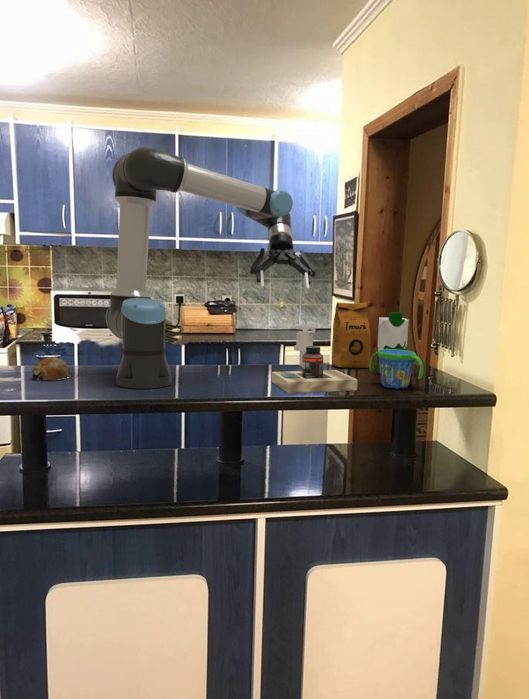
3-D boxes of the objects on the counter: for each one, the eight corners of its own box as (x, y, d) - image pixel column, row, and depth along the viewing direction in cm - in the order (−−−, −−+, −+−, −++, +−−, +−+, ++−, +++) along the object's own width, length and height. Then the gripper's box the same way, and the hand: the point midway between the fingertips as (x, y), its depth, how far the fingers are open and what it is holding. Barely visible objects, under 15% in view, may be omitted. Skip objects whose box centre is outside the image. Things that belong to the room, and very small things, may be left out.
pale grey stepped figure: (314, 367, 191) (316, 323, 189) (293, 367, 192) (295, 322, 189) (313, 364, 198) (314, 321, 196) (293, 363, 198) (294, 320, 196)
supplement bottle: (322, 384, 165) (324, 345, 163) (322, 388, 159) (324, 348, 157) (301, 383, 165) (303, 344, 164) (301, 387, 159) (302, 347, 158)
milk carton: (380, 377, 178) (383, 312, 175) (373, 371, 187) (376, 310, 184) (408, 377, 178) (411, 313, 175) (400, 372, 187) (403, 311, 184)
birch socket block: (288, 393, 152) (288, 381, 152) (271, 382, 166) (272, 370, 166) (357, 390, 158) (357, 378, 157) (335, 379, 172) (335, 368, 172)
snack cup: (428, 388, 163) (430, 353, 161) (410, 393, 155) (412, 356, 153) (380, 380, 173) (382, 346, 171) (361, 385, 165) (363, 350, 164)
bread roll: (66, 393, 163) (78, 367, 163) (30, 380, 158) (42, 353, 158) (61, 386, 171) (73, 362, 172) (27, 374, 167) (39, 348, 167)
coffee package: (372, 369, 190) (375, 303, 187) (336, 369, 189) (338, 303, 186) (363, 364, 200) (366, 301, 197) (328, 364, 199) (331, 301, 195)
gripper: (317, 252, 188) (323, 300, 175) (241, 248, 185) (242, 297, 172) (321, 234, 182) (328, 283, 169) (242, 230, 179) (244, 279, 166)
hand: (284, 290), depth 171 cm, fingers open, 13 cm apart
